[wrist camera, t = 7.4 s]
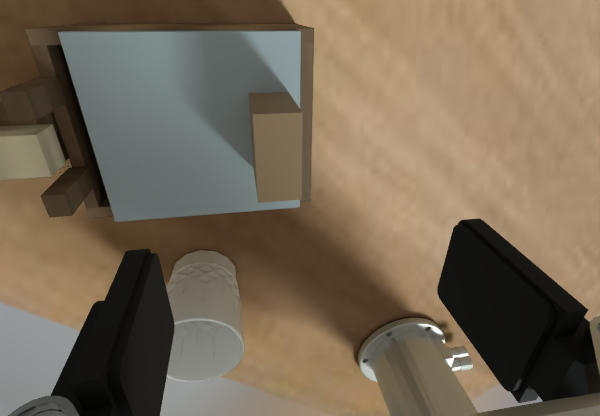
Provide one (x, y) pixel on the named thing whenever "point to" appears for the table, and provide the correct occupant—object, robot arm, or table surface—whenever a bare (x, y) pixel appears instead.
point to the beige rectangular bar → (29, 152)
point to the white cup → (204, 317)
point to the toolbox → (71, 125)
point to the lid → (191, 118)
